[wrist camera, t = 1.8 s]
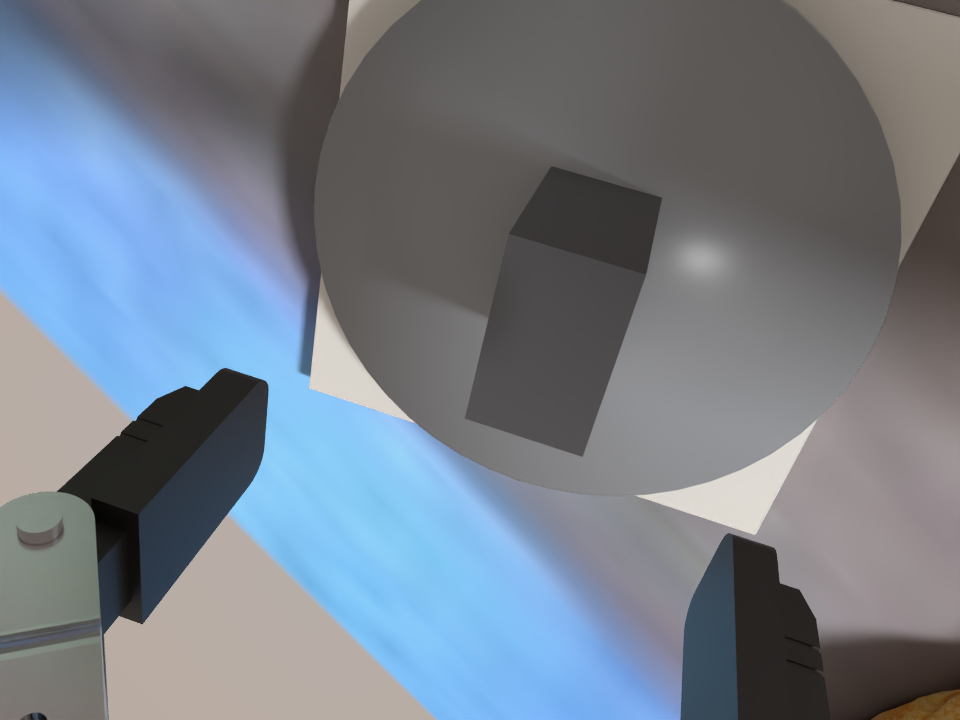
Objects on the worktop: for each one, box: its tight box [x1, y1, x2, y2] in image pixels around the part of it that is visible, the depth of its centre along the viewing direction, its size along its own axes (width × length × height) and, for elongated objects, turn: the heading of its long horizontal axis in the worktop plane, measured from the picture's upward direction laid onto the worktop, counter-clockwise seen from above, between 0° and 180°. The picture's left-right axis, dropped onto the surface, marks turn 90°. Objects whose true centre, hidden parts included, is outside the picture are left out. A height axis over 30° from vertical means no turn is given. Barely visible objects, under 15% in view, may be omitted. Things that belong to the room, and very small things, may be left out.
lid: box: [314, 0, 901, 496], centre depth 21 cm, size 16×16×6 cm
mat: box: [309, 0, 960, 535], centre depth 24 cm, size 16×16×1 cm
